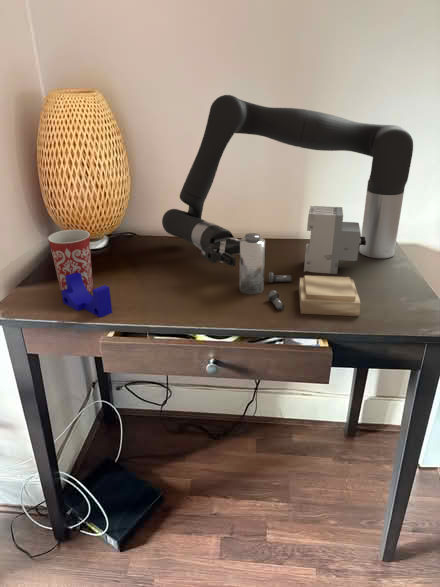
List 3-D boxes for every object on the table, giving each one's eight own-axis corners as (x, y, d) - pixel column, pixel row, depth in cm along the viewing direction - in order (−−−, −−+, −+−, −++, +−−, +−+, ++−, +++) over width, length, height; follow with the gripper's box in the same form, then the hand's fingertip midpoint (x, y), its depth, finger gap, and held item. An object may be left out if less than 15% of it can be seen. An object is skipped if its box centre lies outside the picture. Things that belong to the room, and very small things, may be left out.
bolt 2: (267, 300, 105) (267, 290, 104) (277, 299, 106) (278, 289, 105) (275, 311, 101) (275, 301, 100) (285, 309, 101) (286, 299, 100)
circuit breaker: (362, 275, 117) (370, 216, 111) (303, 271, 120) (308, 213, 114) (360, 264, 124) (367, 208, 118) (305, 260, 127) (309, 205, 120)
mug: (96, 297, 108) (88, 240, 102) (55, 300, 106) (44, 243, 101) (98, 275, 119) (91, 223, 113) (61, 278, 118) (52, 226, 112)
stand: (298, 289, 111) (300, 273, 109) (351, 291, 109) (353, 275, 107) (300, 313, 100) (301, 296, 98) (359, 316, 98) (361, 298, 97)
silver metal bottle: (240, 283, 114) (241, 231, 108) (263, 284, 113) (265, 231, 107) (238, 293, 109) (239, 239, 103) (263, 294, 108) (264, 239, 102)
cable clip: (63, 302, 105) (59, 278, 103) (80, 296, 108) (77, 272, 106) (94, 320, 98) (90, 294, 95) (112, 312, 101) (109, 287, 98)
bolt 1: (270, 284, 113) (270, 274, 112) (268, 279, 115) (269, 270, 114) (291, 283, 114) (292, 274, 113) (289, 279, 116) (290, 270, 115)
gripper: (187, 230, 116) (223, 248, 103) (235, 220, 123) (274, 236, 110) (188, 258, 119) (224, 280, 107) (235, 247, 126) (273, 266, 113)
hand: (249, 258), depth 108 cm, fingers open, 8 cm apart
